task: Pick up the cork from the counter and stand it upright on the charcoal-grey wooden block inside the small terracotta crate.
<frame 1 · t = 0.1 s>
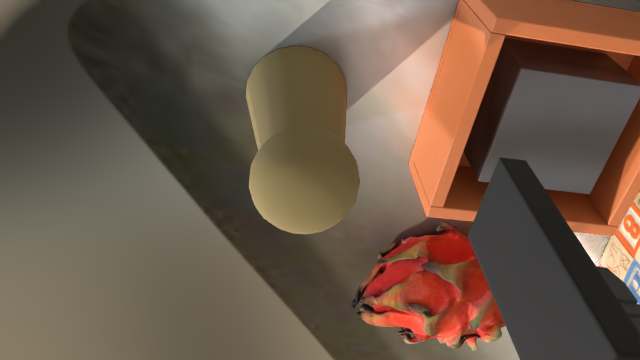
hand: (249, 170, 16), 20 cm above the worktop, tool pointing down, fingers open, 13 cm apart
crate: (526, 94, 37), on the worktop
dragon fruit: (425, 253, 45), on the worktop
cork: (296, 92, 36), on the worktop
stack of blocks: (630, 274, 47), on the worktop
grey block: (529, 99, 37), resting on crate
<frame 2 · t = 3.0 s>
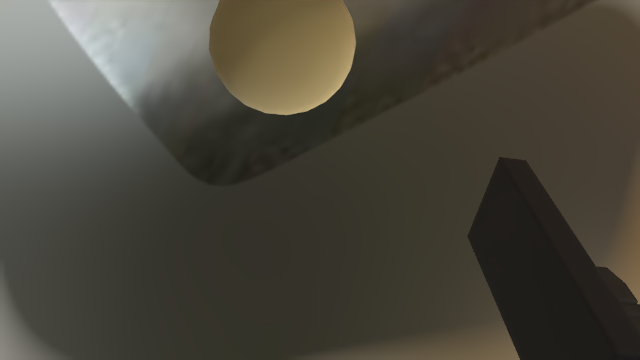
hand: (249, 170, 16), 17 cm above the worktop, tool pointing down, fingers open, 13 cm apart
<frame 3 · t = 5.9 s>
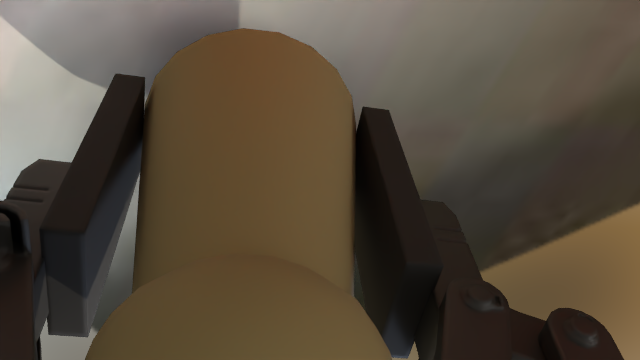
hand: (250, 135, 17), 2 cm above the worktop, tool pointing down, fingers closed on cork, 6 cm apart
cork: (251, 126, 18), point 1 cm above the worktop, touching gripper
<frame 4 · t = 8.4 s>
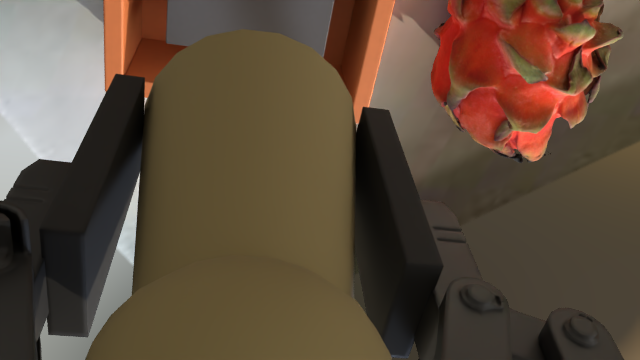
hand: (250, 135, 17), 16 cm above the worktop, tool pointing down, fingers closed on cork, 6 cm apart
dragon fruit: (495, 35, 33), on the worktop
cork: (251, 127, 18), point 15 cm above the worktop, touching gripper
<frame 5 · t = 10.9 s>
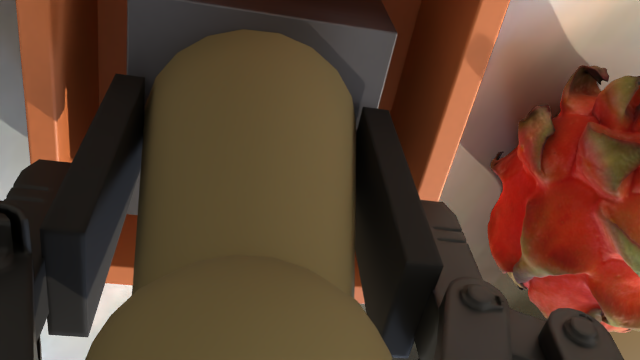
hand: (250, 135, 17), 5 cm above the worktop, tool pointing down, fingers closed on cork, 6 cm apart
crate: (254, 60, 22), on the worktop
dragon fruit: (566, 161, 25), on the worktop
cork: (252, 127, 18), point 5 cm above the worktop, touching grey block, gripper
grey block: (253, 67, 21), resting on crate
when the fingers open (6 cm above the worktop, at t = 11.7 s): cork stays where it is, resting on grey block.
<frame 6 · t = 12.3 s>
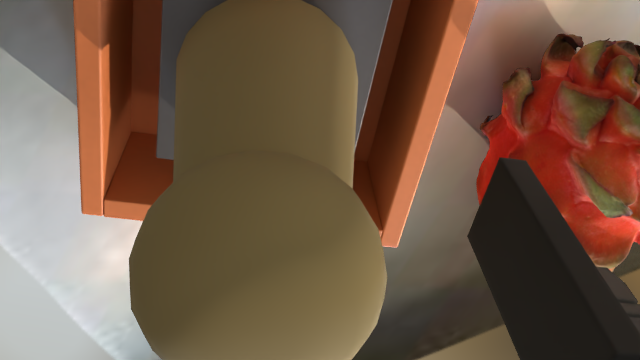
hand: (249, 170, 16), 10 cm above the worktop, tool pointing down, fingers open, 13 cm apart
crate: (268, 29, 24), on the worktop
dragon fruit: (551, 127, 28), on the worktop
cork: (267, 80, 20), point 5 cm above the worktop, touching grey block
grey block: (268, 34, 24), resting on crate
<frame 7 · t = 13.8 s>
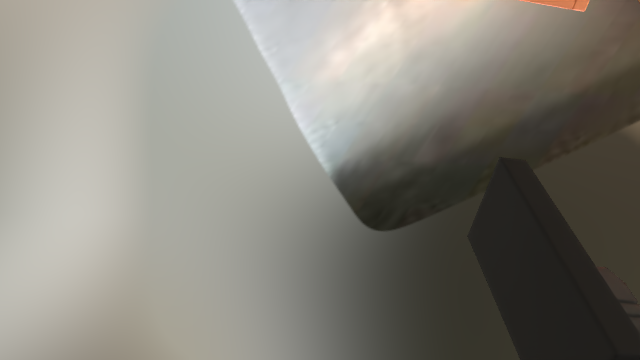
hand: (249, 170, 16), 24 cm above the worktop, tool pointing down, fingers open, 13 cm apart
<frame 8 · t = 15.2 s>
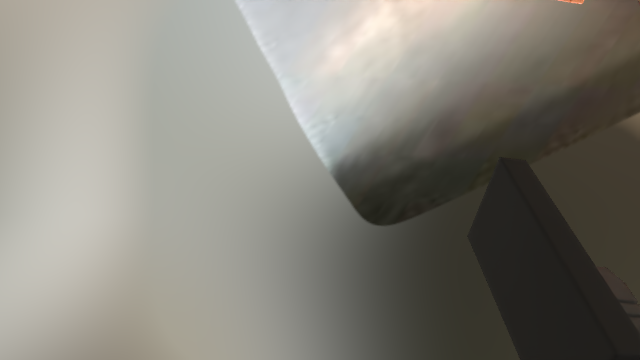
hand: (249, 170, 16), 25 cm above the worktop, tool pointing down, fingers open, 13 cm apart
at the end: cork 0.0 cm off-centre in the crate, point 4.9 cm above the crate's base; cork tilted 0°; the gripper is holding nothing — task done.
